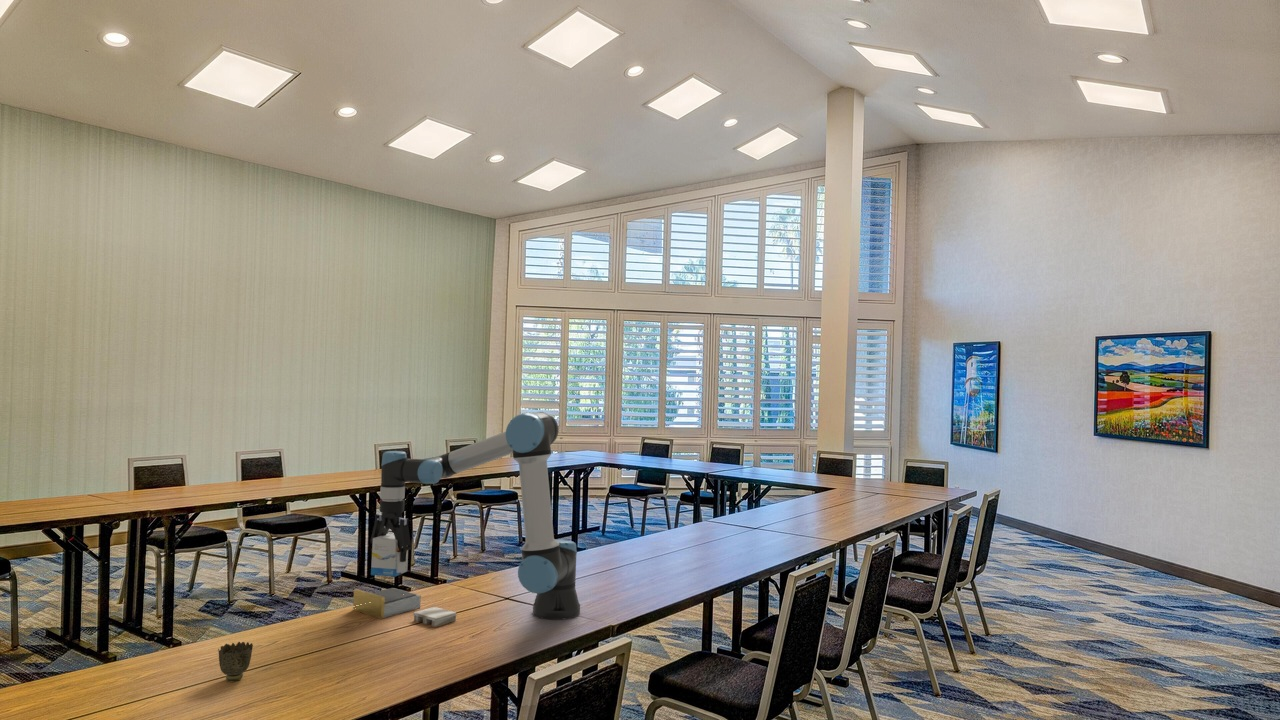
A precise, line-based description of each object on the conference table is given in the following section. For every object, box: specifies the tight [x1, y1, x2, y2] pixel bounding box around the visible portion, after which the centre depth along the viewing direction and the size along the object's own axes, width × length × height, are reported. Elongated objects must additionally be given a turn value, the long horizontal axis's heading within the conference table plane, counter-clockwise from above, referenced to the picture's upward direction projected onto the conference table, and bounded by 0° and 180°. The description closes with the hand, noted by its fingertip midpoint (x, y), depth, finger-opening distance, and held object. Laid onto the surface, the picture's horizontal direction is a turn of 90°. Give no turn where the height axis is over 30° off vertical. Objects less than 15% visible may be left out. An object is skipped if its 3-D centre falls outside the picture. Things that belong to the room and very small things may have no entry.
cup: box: [217, 641, 254, 682], centre depth 187 cm, size 8×7×8 cm
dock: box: [352, 587, 422, 619], centre depth 247 cm, size 14×15×6 cm
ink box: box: [370, 533, 409, 578], centre depth 248 cm, size 9×8×12 cm
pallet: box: [413, 606, 457, 628], centre depth 237 cm, size 10×8×2 cm
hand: (389, 569), depth 248 cm, fingers closed on ink box, 10 cm apart
